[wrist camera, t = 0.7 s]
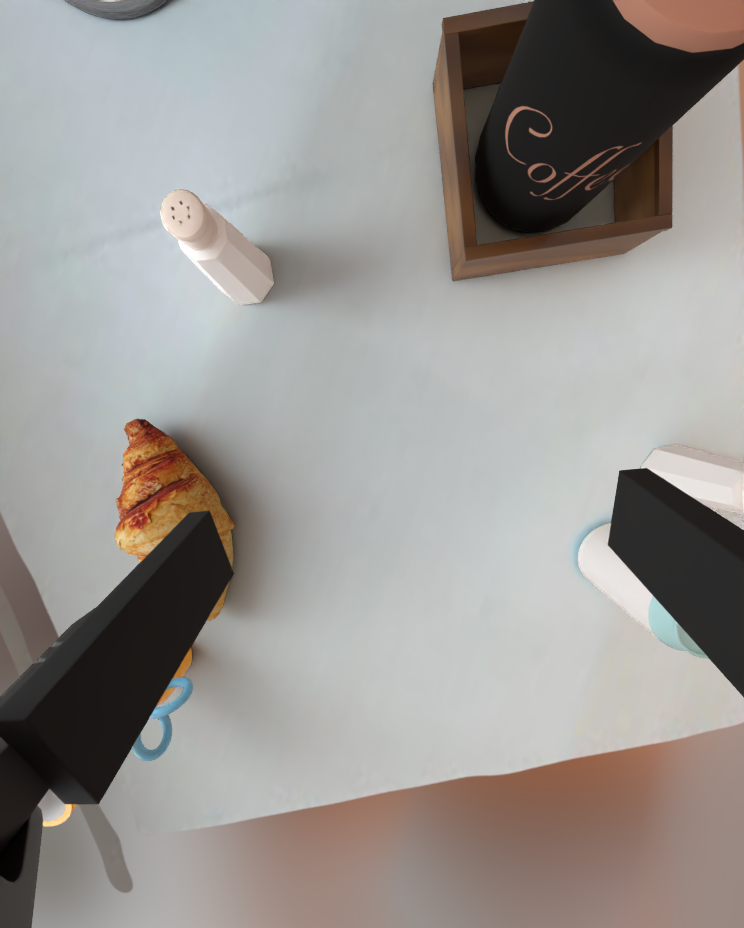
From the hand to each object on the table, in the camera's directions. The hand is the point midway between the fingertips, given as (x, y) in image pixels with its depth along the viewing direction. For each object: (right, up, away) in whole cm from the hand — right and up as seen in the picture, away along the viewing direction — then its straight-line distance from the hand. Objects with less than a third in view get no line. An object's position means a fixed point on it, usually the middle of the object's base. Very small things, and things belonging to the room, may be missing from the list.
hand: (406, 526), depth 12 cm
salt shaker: (+28, +1, +24) cm, 37 cm away
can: (+24, -7, +25) cm, 35 cm away
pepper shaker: (-13, +19, +21) cm, 31 cm away
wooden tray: (+13, +28, +19) cm, 36 cm away
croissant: (-20, -4, +25) cm, 33 cm away
